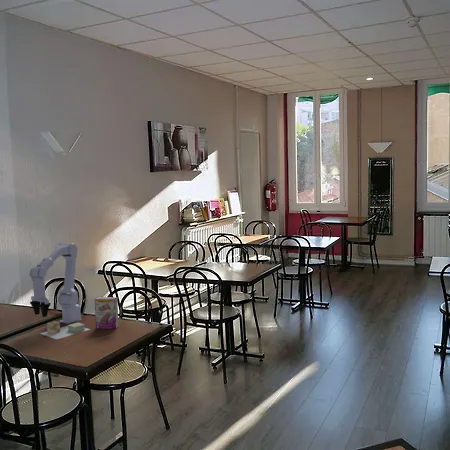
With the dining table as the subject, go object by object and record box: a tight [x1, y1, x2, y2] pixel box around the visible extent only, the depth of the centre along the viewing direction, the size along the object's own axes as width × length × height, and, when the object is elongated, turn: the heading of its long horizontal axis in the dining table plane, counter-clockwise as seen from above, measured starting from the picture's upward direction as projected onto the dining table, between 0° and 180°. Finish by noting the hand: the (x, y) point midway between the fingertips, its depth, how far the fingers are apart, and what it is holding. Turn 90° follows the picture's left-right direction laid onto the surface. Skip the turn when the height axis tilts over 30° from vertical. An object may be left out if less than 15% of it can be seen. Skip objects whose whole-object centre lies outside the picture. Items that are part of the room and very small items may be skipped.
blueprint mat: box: [39, 325, 91, 340], centre depth 274 cm, size 20×16×1 cm
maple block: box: [46, 320, 61, 334], centre depth 273 cm, size 4×4×5 cm
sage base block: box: [67, 322, 86, 333], centre depth 275 cm, size 6×6×3 cm
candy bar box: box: [94, 296, 119, 330], centre depth 279 cm, size 11×5×16 cm, turn 84°
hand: (41, 315), depth 272 cm, fingers open, 7 cm apart
